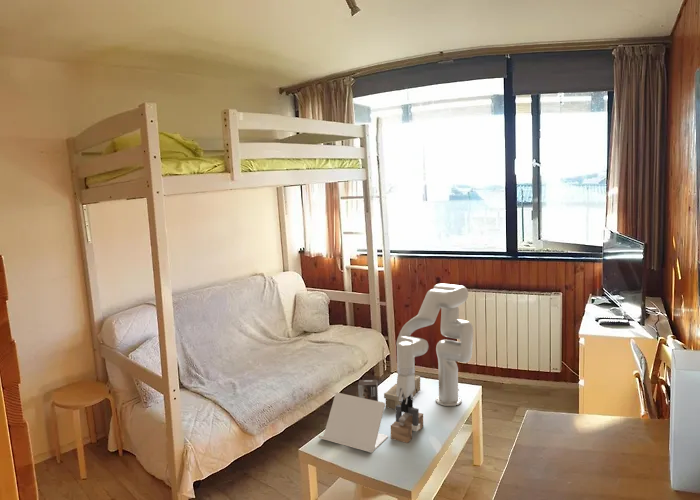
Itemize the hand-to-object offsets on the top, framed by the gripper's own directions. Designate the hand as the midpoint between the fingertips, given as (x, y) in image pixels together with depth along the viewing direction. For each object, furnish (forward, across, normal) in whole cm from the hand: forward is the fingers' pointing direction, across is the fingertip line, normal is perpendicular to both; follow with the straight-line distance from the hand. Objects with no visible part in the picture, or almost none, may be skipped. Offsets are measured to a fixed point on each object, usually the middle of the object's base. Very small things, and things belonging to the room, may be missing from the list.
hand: (406, 409), depth 231 cm
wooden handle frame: (+11, 0, 0) cm, 11 cm away
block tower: (+11, -32, -17) cm, 38 cm away
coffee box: (+11, -8, -24) cm, 28 cm away
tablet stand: (+11, +16, -18) cm, 27 cm away
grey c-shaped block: (+8, 0, 0) cm, 8 cm away
